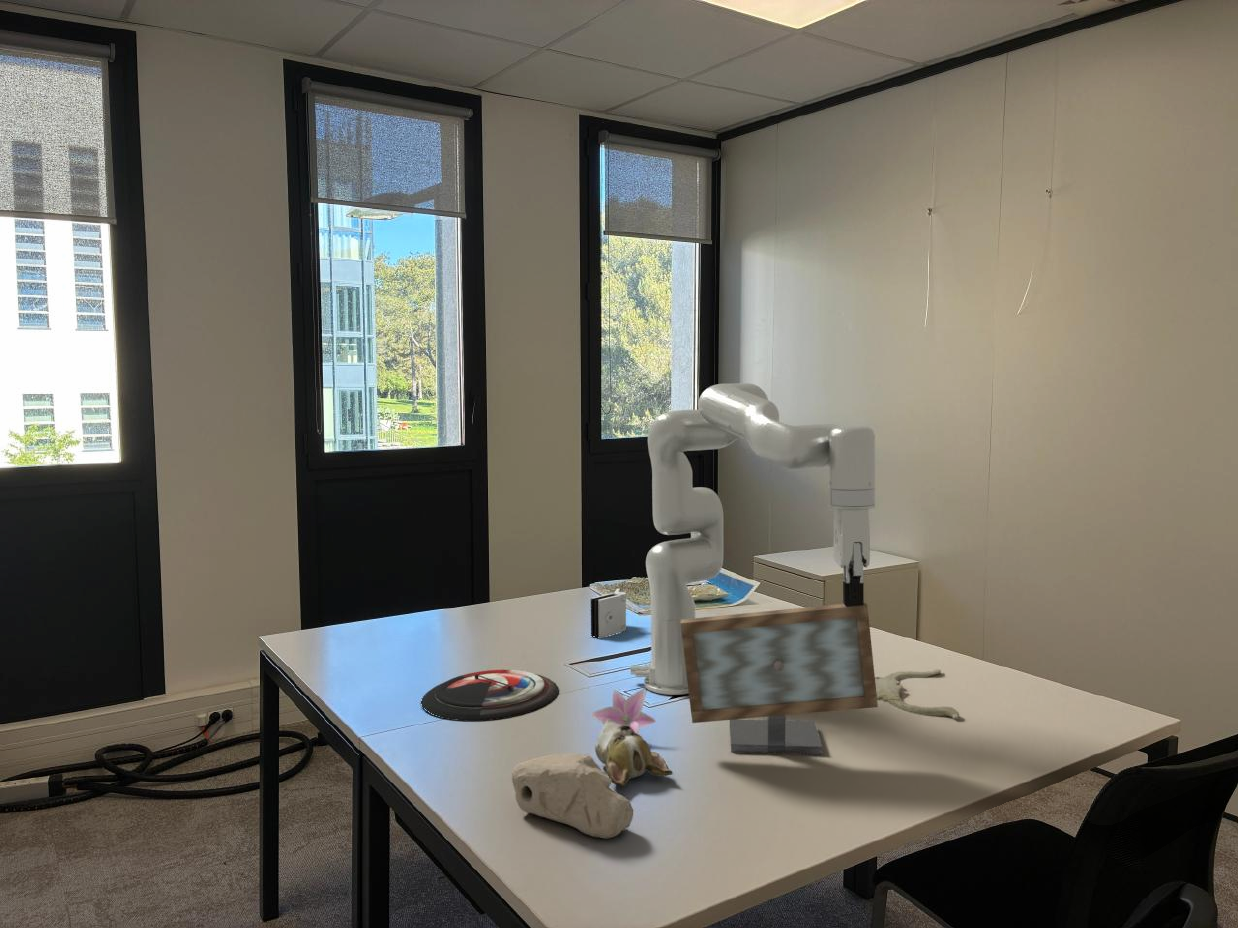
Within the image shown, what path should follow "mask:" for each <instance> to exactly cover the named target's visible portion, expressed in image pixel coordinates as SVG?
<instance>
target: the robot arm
mask: <svg viewBox="0 0 1238 928" xmlns="http://www.w3.org/2000/svg"><path fill="white" fill-rule="evenodd" d="M697 404H698V407H697V408H698V409H677V410H672V411H667V412H665V413H662V414H660V415H658V416H657V417H656V418H655V419H654V420H653V421H652V424H651V425H650V427H649V430H648V434H647V447H648V455H649V458H650V459H649V460H650V465H651V474H652V478H651V479H652V480H651V482H652V483H651V489H652V491H651V493H652V496H651V498H652V521H653V526H654V528H655V529H656V531H657V532H658V533H660V534H662V535H667V536H672V535H673V536H674V535H683V534H690V538H689V537H688V538H681V539H674V540H673V539H672V540H668V541H663V542H660V543H657V544H656V545H654V546H653V547H651V549H649V551H648V552H647V555H646V559H645V568H646V569H645V570H646V574H647V578H648V585H649V594H650V596H649V597H650V635H651V636H650V641H651V642H650V645H651V646H650V650H651V651H650V652H651V654H650V656H651V657H650V659H651V660H650V662H649V664H645V666H644V665H631V666H630V675H635V678H644V681H643V685H644V688H645V689H646V690H648V691H650V692H651V693H652V692H653V693H655V694H659V695H660V694H661V695H669V696H672V695H673V696H679V695H680V696H681V695H687V694H688V695H689V691H688V683H687V674H686V666H685V658H684V650H683V641H682V633H681V625H680V621H681V620H682V619H692V618H696V604H695V600H694V597H693V595H692V594H691V592H690V591H689V589H688V584H692V583H697V582H702V581H708V580H711V579H713V578H716V577H717V576H718V575H719V573H721V571H722V568H723V563H724V552H725V551H724V544H725V543H724V509H723V505H722V501H721V499H720V497H719V496H718V494H717V493H716V492H715V491H714V490H713V489H711V488H708V487H703V486H702V487H701V486H700V487H698V486H697V487H693V469H692V466H691V463H690V461H689V459H688V457H687V456H686V454H685V453H684V452H689V451H691V452H692V451H707V450H719V449H723V448H727V447H728V446H730V445H731V444H733V443H734V442H736V441H738V440H739V439H743V440H746V441H747V443H748V445H749V448H750V449H751V450H752V451H753V453H754V454H755V455H756V456H758V457H759V458H761V459H762V460H766V461H767V462H770V463H772V464H773V465H776V466H779V467H782V468H784V469H789V470H804V469H811V468H827V467H829V470H828V471H829V508H830V509H834V516H833V517H834V518H833V519H834V520H833V550H832V551H833V554H832V557H833V560H834V562H835V563H836V564H837V565H838V566H839V567H840V568H841V569H843V570H842V571H843V572H842V573H843V581H842V604H844V605H845V606H847V607H851V606H862V605H864V602H865V597H864V595H865V593H864V590H865V588H864V585H865V584H864V568H868V567H869V566H870V563H871V562H870V560H871V536H870V535H871V532H870V531H871V529H870V528H871V526H870V523H871V520H870V510H871V509H872V510H873V509H875V508H876V438H875V436H876V435H875V432H874V430H873V429H872V428H871V427H869V426H864V425H844V426H842V425H837V424H833V423H832V424H831V423H830V424H829V423H822V424H803V425H789V424H787V423H784V422H781V421H780V413H779V412H780V411H779V409H778V406H776V405H775V403H773V402H772V401H771V400H769V398H768V395H767V394H766V392H765V390H763V388H762V387H760V386H758V385H756V384H753V383H749V382H748V383H746V382H745V383H744V382H741V383H739V382H738V383H718V384H713V385H710V386H708V387H707V388H706V389H704V390H703V392H702V393H701V395H700V396H699V398H698V403H697Z"/></svg>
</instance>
